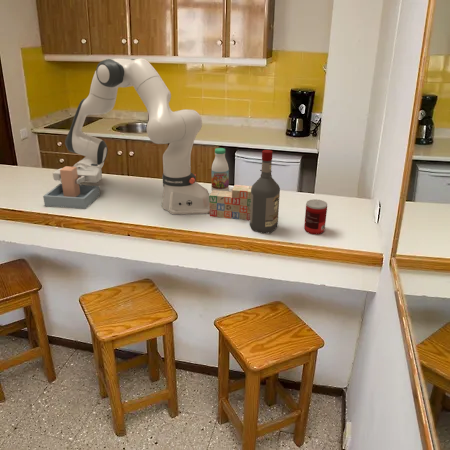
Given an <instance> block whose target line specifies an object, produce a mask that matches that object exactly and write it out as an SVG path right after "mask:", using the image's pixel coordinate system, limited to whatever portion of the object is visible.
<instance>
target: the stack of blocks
mask: <svg viewBox="0 0 450 450" xmlns="http://www.w3.org/2000/svg"><path fill="white" fill-rule="evenodd" d="M251 188H252V185H243V184H234V186H233V188H232V190H231V191H219V190H212V189H211V192H210V193H209V202H210V207H209V209H210V212H209V216H210V217H214V218H215V217H217V218H223V219H224V218H225V219H234V220H244V221H250V207H251Z"/></svg>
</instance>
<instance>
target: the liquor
mask: <svg viewBox="0 0 450 450" xmlns="http://www.w3.org/2000/svg"><path fill="white" fill-rule="evenodd" d="M272 161H273V150H271V149H264V150H262V151H261V172H260V173H261V174H260V177H259V178H258V179H257V180H256V181H255V182H254V183H253V184H252V185H251V186H252V188H251V207H250V220H249V227H250V228H251V230H252V231H253V230H254V231H253V232H257V231H258V232H257V233H261V232H262V233H261V234H264V233H265V234H271V233H272V232H273V231H275V230H276V229H277V227H278V225H279V210H280V197H281V196H280V195H281V194H280V191H281V188H280V185H279V184H278V182H276V180H275V179H274V178H273V175H272V165H273V163H272ZM274 229H275V230H274Z"/></svg>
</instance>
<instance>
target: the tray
mask: <svg viewBox="0 0 450 450" xmlns="http://www.w3.org/2000/svg"><path fill="white" fill-rule="evenodd" d="M79 187H80V194H79V195H78V196H77V197H65V196H64V193H63V187H62V183H59V184H58V185H56V186H54V188H51V190H49V191H48V192H46V193H45V194H43V196H42V197H43V204H44V206H45V207H53V208H55V207H56V208H68V209H69V208H70V209H84V210H85V209H87V208H88V207H90V205H91V204H92V203H94V202H95V201H96V200H97V199H98V197H100V194H101V193H100V186H99V185H92V184H91V185H90V184H79Z"/></svg>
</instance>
